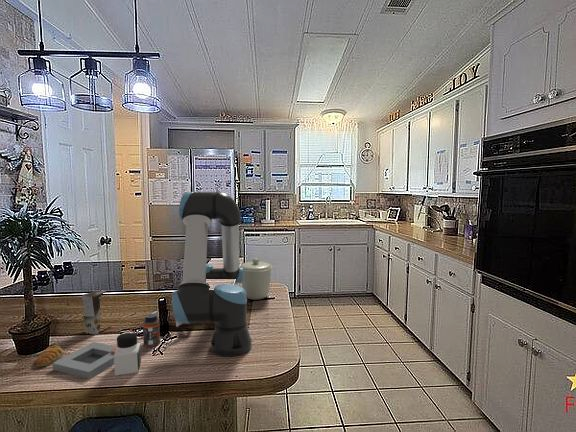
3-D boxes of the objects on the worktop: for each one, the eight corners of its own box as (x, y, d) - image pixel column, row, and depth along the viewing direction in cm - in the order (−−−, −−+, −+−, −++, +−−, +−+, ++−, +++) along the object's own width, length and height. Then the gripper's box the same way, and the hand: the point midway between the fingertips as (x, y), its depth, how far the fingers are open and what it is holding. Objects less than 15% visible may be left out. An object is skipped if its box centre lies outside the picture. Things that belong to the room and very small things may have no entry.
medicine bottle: (138, 372, 114) (137, 337, 113) (114, 376, 112) (112, 340, 111) (141, 361, 121) (139, 328, 119) (118, 365, 119) (116, 331, 117)
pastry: (51, 367, 117) (50, 357, 117) (29, 369, 116) (28, 358, 116) (65, 354, 126) (64, 344, 126) (45, 355, 126) (44, 345, 125)
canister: (272, 302, 179) (272, 262, 177) (237, 302, 179) (236, 262, 177) (273, 291, 197) (273, 254, 195) (241, 291, 197) (240, 254, 195)
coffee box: (96, 335, 141) (94, 296, 140) (83, 333, 143) (81, 295, 141) (113, 326, 150) (111, 289, 148) (101, 324, 152) (99, 288, 150)
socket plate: (128, 355, 125) (127, 346, 125) (89, 379, 110) (88, 369, 110) (94, 348, 130) (93, 339, 130) (53, 370, 115) (52, 360, 115)
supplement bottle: (154, 348, 130) (153, 319, 129) (140, 346, 132) (138, 317, 130) (163, 341, 136) (162, 313, 135) (149, 339, 137) (148, 312, 136)
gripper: (217, 314, 156) (189, 334, 136) (171, 307, 164) (138, 325, 144) (217, 298, 155) (188, 315, 135) (170, 292, 163) (137, 307, 144)
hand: (162, 320), depth 140 cm, fingers open, 13 cm apart
